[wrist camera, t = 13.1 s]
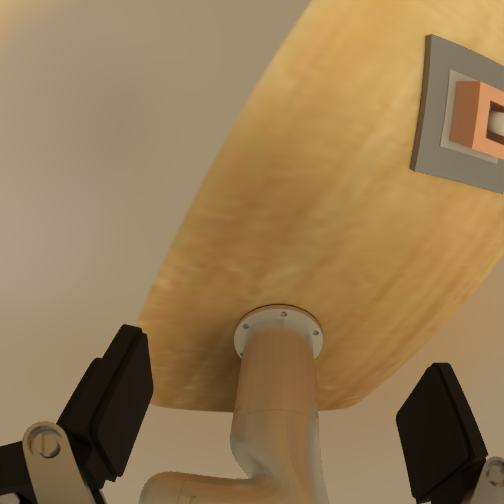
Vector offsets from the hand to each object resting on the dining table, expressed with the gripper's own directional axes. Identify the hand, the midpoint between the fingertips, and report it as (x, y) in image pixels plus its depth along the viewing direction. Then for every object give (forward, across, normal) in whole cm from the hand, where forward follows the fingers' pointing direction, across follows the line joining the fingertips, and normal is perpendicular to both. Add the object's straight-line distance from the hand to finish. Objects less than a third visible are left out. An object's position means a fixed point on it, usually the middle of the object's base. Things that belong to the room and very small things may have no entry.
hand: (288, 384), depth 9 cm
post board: (+27, -21, -12) cm, 36 cm away
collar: (+26, -21, -12) cm, 35 cm away
